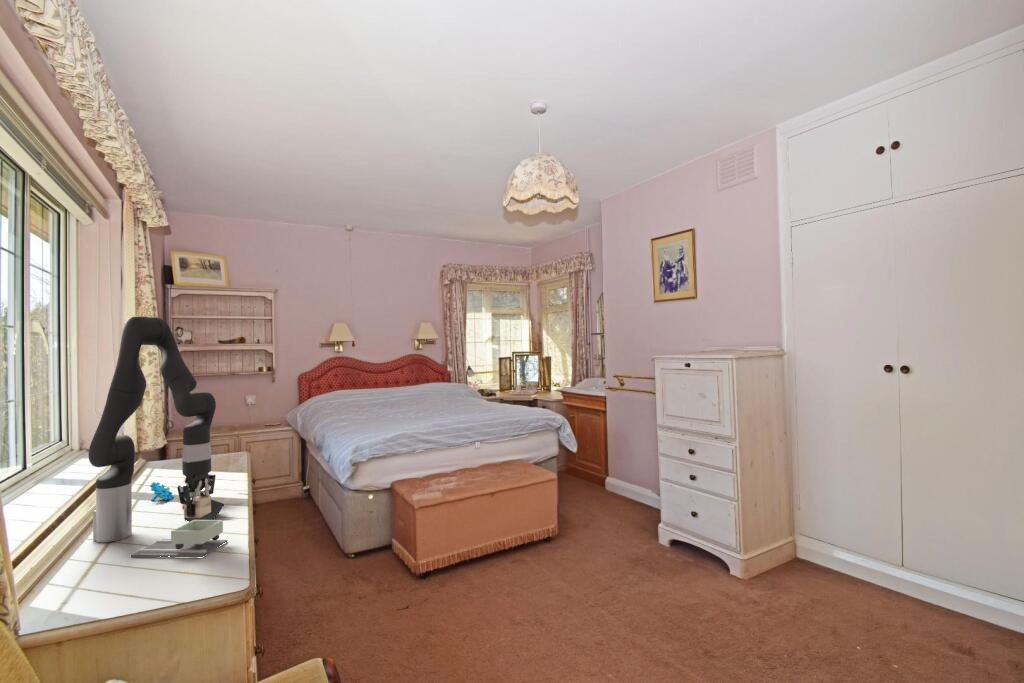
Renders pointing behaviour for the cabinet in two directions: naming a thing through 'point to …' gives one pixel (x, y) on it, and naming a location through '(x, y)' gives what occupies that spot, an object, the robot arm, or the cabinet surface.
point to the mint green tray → (196, 533)
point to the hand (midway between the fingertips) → (197, 513)
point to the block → (200, 506)
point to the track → (168, 549)
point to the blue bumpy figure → (161, 491)
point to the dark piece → (213, 514)
